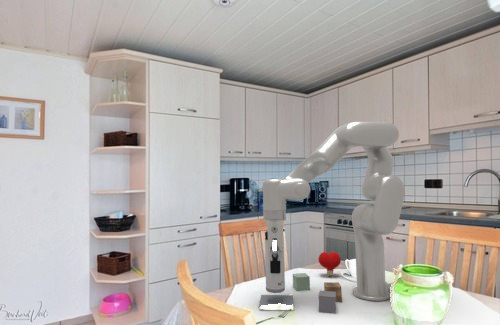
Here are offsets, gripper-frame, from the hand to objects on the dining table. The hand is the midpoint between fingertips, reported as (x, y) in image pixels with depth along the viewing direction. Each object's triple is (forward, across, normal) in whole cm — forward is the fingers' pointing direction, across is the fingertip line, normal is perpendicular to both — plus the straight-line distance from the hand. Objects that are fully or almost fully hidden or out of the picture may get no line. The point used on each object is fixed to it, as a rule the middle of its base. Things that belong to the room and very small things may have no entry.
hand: (275, 269), depth 106 cm
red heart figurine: (+11, +32, -22) cm, 40 cm away
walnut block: (+11, +5, -19) cm, 23 cm away
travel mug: (+7, 0, 0) cm, 7 cm away
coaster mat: (+11, 0, 0) cm, 11 cm away
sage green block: (+11, +16, -9) cm, 21 cm away
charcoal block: (+11, -4, -16) cm, 20 cm away
